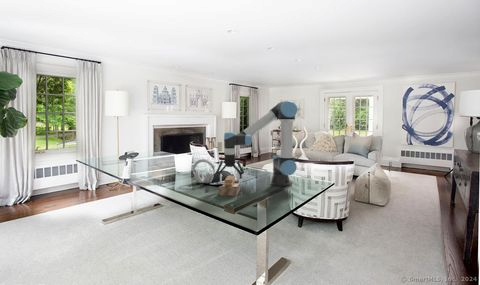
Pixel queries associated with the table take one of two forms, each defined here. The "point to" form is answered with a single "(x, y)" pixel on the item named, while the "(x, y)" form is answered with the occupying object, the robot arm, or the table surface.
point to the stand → (230, 189)
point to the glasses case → (230, 181)
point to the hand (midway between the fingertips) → (230, 183)
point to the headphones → (199, 175)
